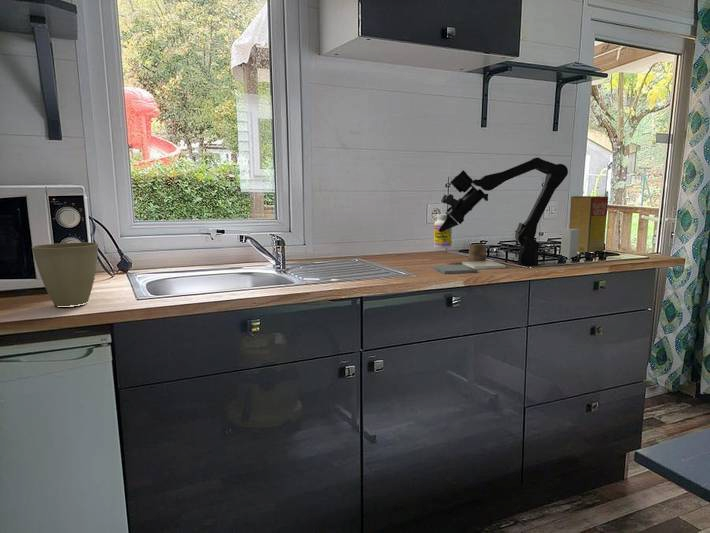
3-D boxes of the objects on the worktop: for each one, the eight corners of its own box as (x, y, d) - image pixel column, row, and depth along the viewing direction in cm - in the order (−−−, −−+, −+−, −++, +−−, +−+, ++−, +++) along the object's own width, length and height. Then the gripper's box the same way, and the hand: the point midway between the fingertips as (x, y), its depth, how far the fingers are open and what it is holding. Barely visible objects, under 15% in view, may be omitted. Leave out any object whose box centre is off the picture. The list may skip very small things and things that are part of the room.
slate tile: (464, 267, 183) (464, 264, 183) (477, 272, 171) (477, 269, 171) (433, 268, 181) (433, 265, 181) (444, 273, 169) (444, 271, 169)
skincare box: (567, 257, 206) (569, 228, 204) (577, 258, 202) (579, 229, 200) (559, 258, 202) (561, 229, 200) (569, 259, 199) (571, 230, 197)
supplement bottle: (431, 248, 190) (431, 214, 188) (437, 246, 195) (437, 213, 193) (448, 248, 186) (448, 215, 184) (453, 246, 192) (453, 214, 190)
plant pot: (105, 307, 127) (99, 245, 124) (37, 314, 119) (29, 249, 117) (102, 296, 139) (96, 240, 137) (40, 302, 132) (33, 244, 130)
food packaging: (605, 253, 215) (609, 196, 211) (587, 254, 212) (591, 196, 208) (583, 250, 227) (586, 195, 223) (566, 251, 225) (569, 196, 221)
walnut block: (480, 261, 198) (480, 243, 197) (485, 262, 193) (486, 245, 192) (468, 261, 197) (469, 244, 196) (473, 263, 193) (474, 245, 191)
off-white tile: (490, 263, 192) (491, 260, 192) (505, 267, 180) (505, 265, 180) (461, 264, 190) (461, 261, 190) (474, 269, 178) (474, 266, 178)
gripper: (452, 186, 196) (424, 214, 199) (455, 186, 178) (424, 217, 181) (472, 206, 196) (443, 233, 199) (476, 208, 178) (445, 238, 181)
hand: (439, 230), depth 190 cm, fingers closed on supplement bottle, 7 cm apart
